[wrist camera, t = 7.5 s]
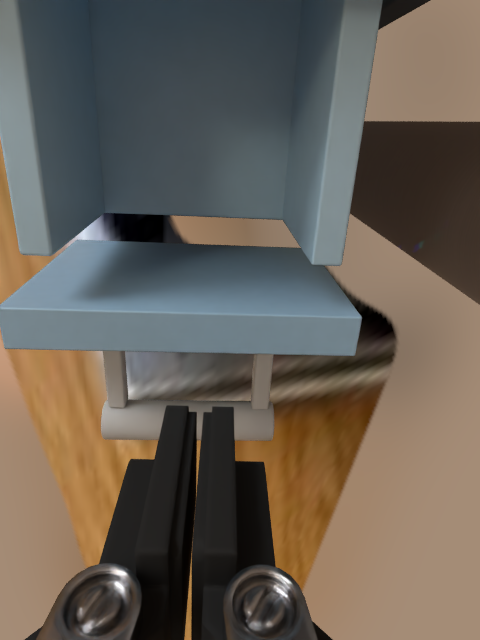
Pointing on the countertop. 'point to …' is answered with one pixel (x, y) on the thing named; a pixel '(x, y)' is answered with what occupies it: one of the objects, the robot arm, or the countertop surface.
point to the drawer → (183, 181)
